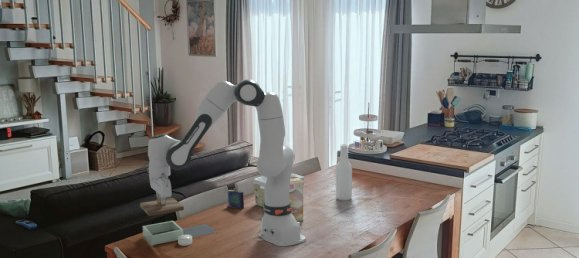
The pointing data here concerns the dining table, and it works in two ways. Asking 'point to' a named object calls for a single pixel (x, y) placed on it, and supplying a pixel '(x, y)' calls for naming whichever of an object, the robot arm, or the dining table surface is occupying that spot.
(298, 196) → the coffeecake box
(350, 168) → the alcohol
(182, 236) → the white rounded piece
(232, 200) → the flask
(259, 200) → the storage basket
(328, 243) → the dining table surface
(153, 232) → the dish
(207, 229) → the trivet
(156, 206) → the lid
